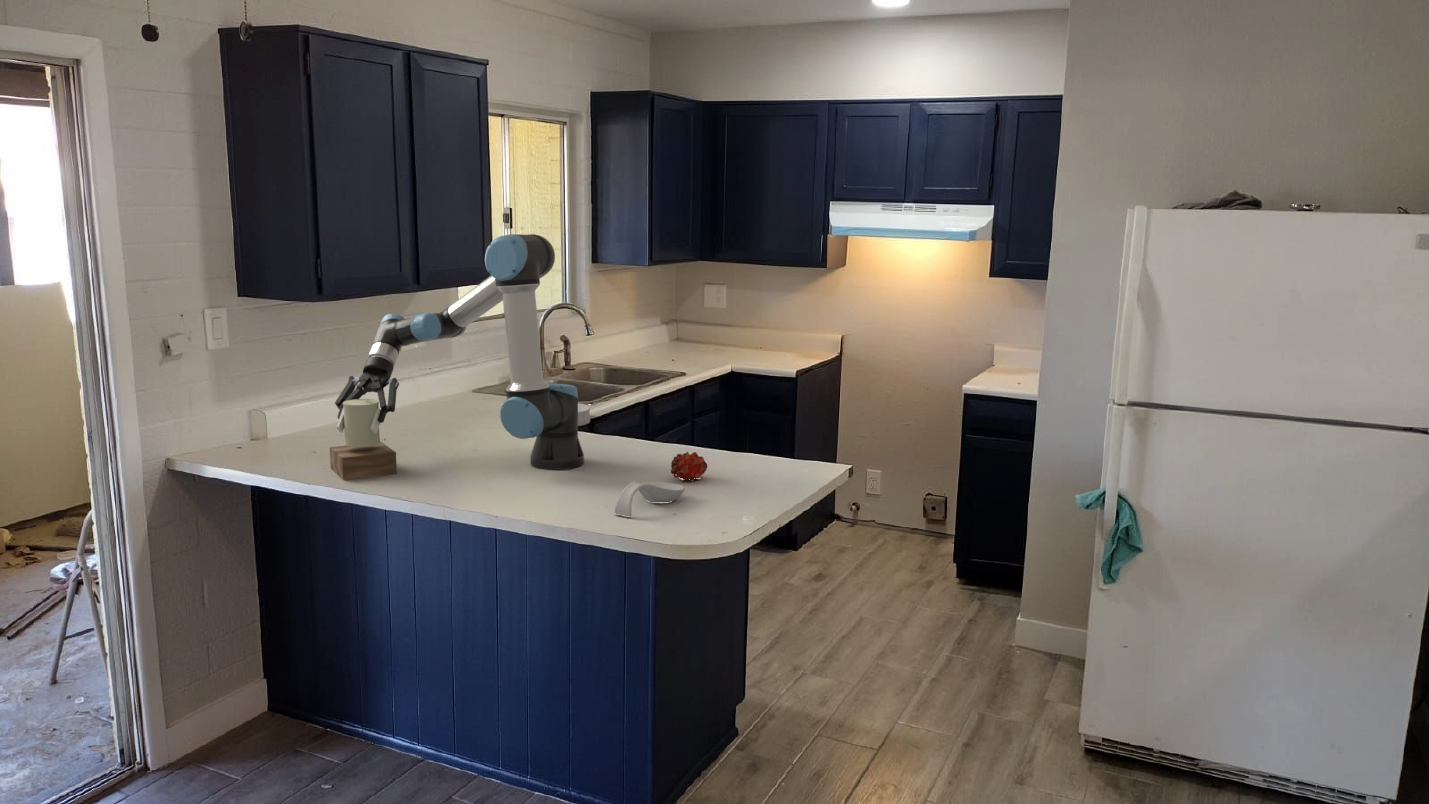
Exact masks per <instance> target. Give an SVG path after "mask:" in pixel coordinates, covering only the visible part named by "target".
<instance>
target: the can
mask: <svg viewBox="0 0 1429 804" xmlns="http://www.w3.org/2000/svg"><path fill="white" fill-rule="evenodd" d="M379 407H380V402H379V400H377V399H372V398H371V399H370V398H359V399H354V400H348V401H344V402H343V408H344V443H343V444H344V446H348V447H371V446H376V445H378V444H380V442H381V439H380V427H379V428H378V431H377V434H373V432H372V431H371V429H370V428H371V425H372V422H373V419H374V416H375V414H376V411H377V409H380V408H379Z"/></svg>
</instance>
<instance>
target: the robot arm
mask: <svg viewBox="0 0 1429 804" xmlns="http://www.w3.org/2000/svg"><path fill="white" fill-rule="evenodd" d="M555 254H556V253H555V249H554V247H553V245H552V244H551V242H550V241H549V240H548V239H547V238H545V237H544V236H542V235H539V234H536V233H535V234H531V233H530V234H522V233H521V234H516V233H515V234H514V233H513V234H512V233H510V234H506V235H500V236H498V237H495V238H494V239H493V240H492V241H491V242H490V244H489V245H488V246H487V248H486V250H485V253H484V265H485V269H486V271H487V272H488V273H489V274H490V276H488V277H487V278H485V279H484V280H482V281H481V283H479V284H477V285H476V286H475V287H473V288H472V289H471V290H469V291H467V293H465V294H464V295H463V296H461V297H460V298H458V299H457V300H456V301H454V302H453V303H452V304H450V305H449V306H448V307H446V308H445V309H443V310H442V311H440V312H436V313H431V312H426V313H419V314H416V315H413V316H410V317H404V316H403V315H400V314H396V313H395V314H393V313H387V314H385V315H384V316H383V317H382V319H381V322H380V324H379V325H378V326H377V332H376V334H375V337H374V339H373V342H372V345H371V347H370V350H369V353H368V356H367V359H366V360H365V362H364V363H365V364H364V365H363V369H362V373H361V375H360V376H359V377H358V376H357V377H354V376H353V375H350V376H348V381H347V383H346V384H345V386H344V387H343V389H342V390H341V392H340V394H339V396H337V399H336V400H335V402H334V405H335V406H336V407H337V410H339V411H338V413H337V419H338V420H337V423H336V426H335V428H336V429H337V431H338V432H339V433H343V432H344V431H345V428H344V408H343V402H344V401H348V400H354V399H361V398H362V397H363V396H366V394H367V393H372V392H373V393H376V394H377V396H378V401H379V407H380V408H379V409H377V411H376V414H375V416H374V419H373V422H372V425H371V428H370V429H371V431H372V432H373V434H377V431H378V428H379V429H380V425H381V424H382V423H384V422H385V419H386V417H387V416H386V415H387V414H388V413H390V412H391V413H394V412H395V411H396V403H397V402H396V401H397V400H396V399H397V390H398V388H399V386H400V382H399V381H398V379H397V378H396V377H393V378H391V377H392V375H393V371H394V369H395V368H394V367H395V365H396V362H397V361H398V357H399V354H400V350H401V349H402V348H403V347H407V346H410V345H414V344H420V343H424V342H430V341H435V340H441V339H448V338H449V339H452V338H456V337H458V336H461V335H463V334H464V333H465V332H466V329H467V327H468V326H469V325H470V324H472V323H473V322H475V321H476V320H477V319H479V318H480V317H482V316H483V315H485V314H486V313H487V312H489V311H490V310H492V309H493V308H494V307H496V306H497V305H499V304H500V303H501V302H502V305H503V314H504V323H505V324H504V325H505V326H504V327H505V335H506V345H507V353H508V355H507V356H508V364H509V375H510V383H509V385H508V386H507V387H506V388H505V393H506V394H505V395H506V400H505V401H504V402H503V404H502V405H501V407H500V410H499V418H500V422H501V424H502V426H503V428H504V429H505V431H506V432H508V433H509V434H510V435H511V436H512V437H515V438H517V439H520V440H522V439H523V440H524V439H525V440H527V439H532V438H535V441H534V445H533V446H532V451H531V453H530V459H529V460H530V462H529V463H530V466H532V467H535V468H538V469H545V470H565V469H566V468H568V469H574V468H578V467H580V466H583V464H585V455H584V451H583V449H582V445H581V443H580V439H579V436H578V435H579V428H578V427H579V426H578V403H579V397H578V396H579V395H578V388H577V386H575V385H573V384H566V383H554V382H553V383H552V382H546V381H545V380H544V375H543V364H542V363H543V362H542V354H541V352H542V351H541V342H540V331H539V321H538V320H539V319H538V310H537V309H538V308H537V300H536V298H537V297H536V290H537V289H538V288H539V287H540V285H541V279H542V278H543V277H544V276H546V275H547V274H548V273H550V271H551V270H552V269H553V267H554V264H555V260H556V255H555ZM387 386H388V387H389V388H388V397H387V398H388V399H387V400H386V397H385V390H384V389H385V387H387ZM566 470H567V469H566Z"/></svg>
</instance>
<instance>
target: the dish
mask: <svg viewBox="0 0 1429 804" xmlns="http://www.w3.org/2000/svg"><path fill="white" fill-rule="evenodd" d="M590 410H591V408H590V406H589V405H588V404H584V403H579V402H578V427H582V426H585V425H588V424H590V423H591V413H590Z"/></svg>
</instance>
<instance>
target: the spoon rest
mask: <svg viewBox="0 0 1429 804" xmlns="http://www.w3.org/2000/svg"><path fill="white" fill-rule="evenodd" d="M637 492H639V493H640V495H641V496H642V497H643V498H644V499H645V500H646V501H647V500H648V501H650V502H670V501H672V502H675V501H676V500H677V499H679V498H680V497H681V496H682V494H683V493H684V492H685V486H684V485H681V484H677V483H671V482H658V481H657V482H656V481H652V482H640V483H638V482H637V481H632V482H630V483H628V484H627V485H626V486H625V487H624V489H623V490H622V491H621V492H620V494H619V496H618V499H617V501H616V503H615V507H614V512H613V514H614V513H616V514H620V515H625V516H630V517H631V516H632V503H633V498H634V496H635V494H636V493H637ZM648 501H647V502H648ZM650 502H649V503H650ZM631 518H632V517H631Z"/></svg>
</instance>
